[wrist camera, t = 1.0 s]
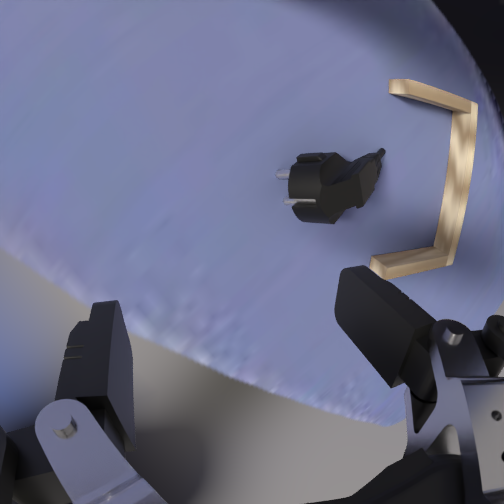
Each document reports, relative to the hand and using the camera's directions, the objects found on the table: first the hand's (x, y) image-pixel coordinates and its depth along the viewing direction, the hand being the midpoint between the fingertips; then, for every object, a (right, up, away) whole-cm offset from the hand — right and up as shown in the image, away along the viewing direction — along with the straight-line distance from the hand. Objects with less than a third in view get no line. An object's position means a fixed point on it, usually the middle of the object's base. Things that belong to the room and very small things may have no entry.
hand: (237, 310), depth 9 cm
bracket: (+19, +10, +22) cm, 31 cm away
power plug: (+8, +10, +19) cm, 23 cm away
